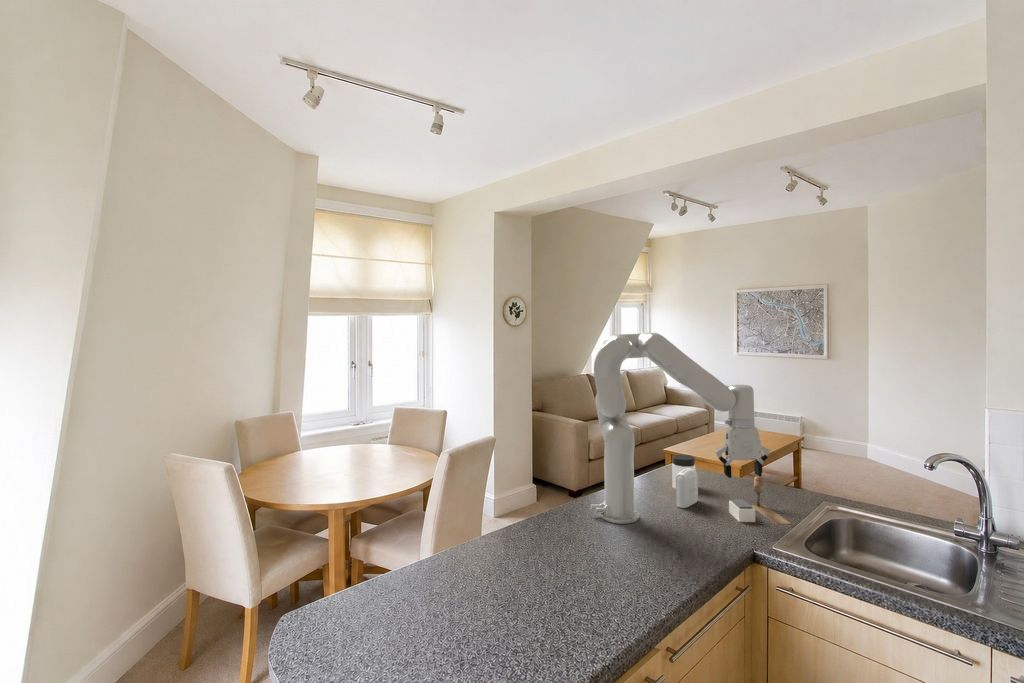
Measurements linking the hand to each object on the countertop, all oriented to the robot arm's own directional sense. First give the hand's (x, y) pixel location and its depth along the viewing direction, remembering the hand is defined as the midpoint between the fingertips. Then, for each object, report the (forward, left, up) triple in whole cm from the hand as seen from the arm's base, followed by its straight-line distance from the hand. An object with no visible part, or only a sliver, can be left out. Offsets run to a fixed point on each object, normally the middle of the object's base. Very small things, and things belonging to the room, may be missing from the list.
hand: (743, 475), depth 157 cm
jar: (-9, +30, -14) cm, 34 cm away
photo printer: (-14, +13, -14) cm, 23 cm away
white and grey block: (-1, 0, -14) cm, 14 cm away
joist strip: (+9, +2, -14) cm, 17 cm away
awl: (+9, +9, -13) cm, 19 cm away
